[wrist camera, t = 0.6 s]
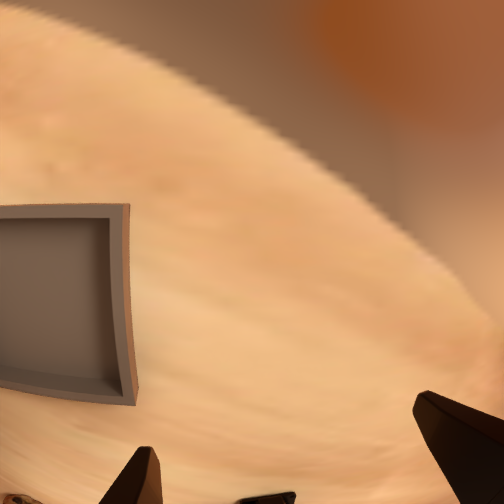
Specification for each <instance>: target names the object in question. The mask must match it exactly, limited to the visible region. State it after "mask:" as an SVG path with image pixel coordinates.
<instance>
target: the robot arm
mask: <svg viewBox="0 0 504 504" xmlns="http://www.w3.org/2000/svg"><path fill="white" fill-rule="evenodd" d="M413 416H414V418H415V420H416V422H417V424H418V427H419V429H420V431H421V433H422V435H423V438H424V440H425V442H426V444H427V446H428V448H429V450H430V451H431V453H432V455H433V456H434V458H435V460H436V462H437V463H438V465H439V467H440V468H441V470H442V472H443V474H444V475H445V477H446V479H447V480H448V482H449V484H450V486H451V487H452V489H453V491H454V493H455V495H456V496H457V498H458V500H459V502H460V504H504V420H502V419H500V418H497V417H494V416H492V415H489V414H486V413H484V412H481V411H479V410H476V409H473V408H471V407H468V406H466V405H463V404H461V403H458V402H456V401H453V400H451V399H448V398H446V397H444V396H441V395H439V394H436V393H434V392H432V391H429V390H427V391H424V392H421V393H419V394H418V395H417V398H416V401H415V404H414V406H413ZM295 498H296V493H295V492H289V493H284V494H278V495H272V496H265V497H258V498H251V499H243V500H241V501H240V504H294V502H295ZM99 504H163V498H162V486H161V472H160V463H159V460H158V458H157V456H156V454H155V451H154V449H153V448H152V447H150V446H141V447H139V448H138V449H137V450H136V452H135V453H134V455H133V456H132V457H131V459H130V460H129V462H128V463H127V464H126V466H125V467H124V469H123V470H122V471H121V473H120V474H119V476H118V477H117V478H116V480H115V481H114V483H113V484H112V485H111V487H110V488H109V490H108V491H107V492H106V494H105V495H104V497H103V498H102V499H101V501H100V502H99Z"/></svg>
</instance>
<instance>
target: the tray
mask: <svg viewBox="0 0 504 504" xmlns="http://www.w3.org/2000/svg"><path fill="white" fill-rule="evenodd" d="M129 223H130V204H107V203H88V204H27V205H0V387H2V388H7V389H11V390H16V391H20V392H25V393H30V394H36V395H41V396H47V397H53V398H60V399H67V400H74V401H82V402H91V403H101V404H113V405H127V406H136V400H137V394H138V388H139V386H138V379H137V370H136V361H135V352H134V341H133V329H132V315H131V297H130V267H129Z"/></svg>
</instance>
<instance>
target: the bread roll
mask: <svg viewBox="0 0 504 504" xmlns="http://www.w3.org/2000/svg"><path fill="white" fill-rule="evenodd" d="M3 504H43V503H41V502H39V501H36V500H33V499H32V498H31V497H29V496H26V495H13V496H12V495H9V496H7V497H6V498H5V499H4V501H3Z"/></svg>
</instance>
